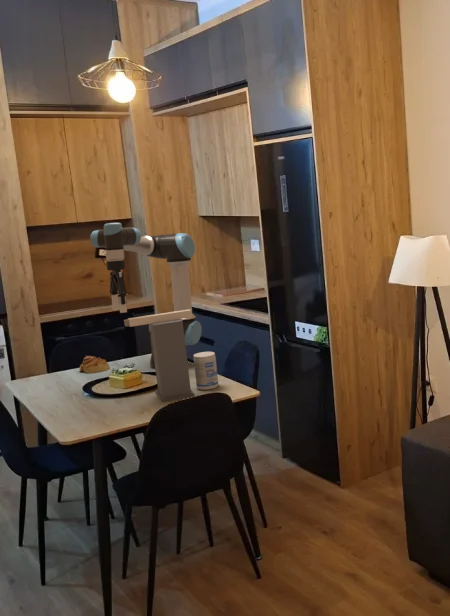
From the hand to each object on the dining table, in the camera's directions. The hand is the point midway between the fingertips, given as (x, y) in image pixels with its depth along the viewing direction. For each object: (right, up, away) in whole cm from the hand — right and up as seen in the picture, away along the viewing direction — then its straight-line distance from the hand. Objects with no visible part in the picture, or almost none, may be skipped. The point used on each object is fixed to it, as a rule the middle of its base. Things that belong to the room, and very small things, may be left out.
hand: (119, 311), depth 271 cm
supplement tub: (+37, -33, +9) cm, 50 cm away
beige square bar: (+17, -4, -2) cm, 18 cm away
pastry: (-22, -31, +59) cm, 70 cm away
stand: (+23, -35, +4) cm, 42 cm away
